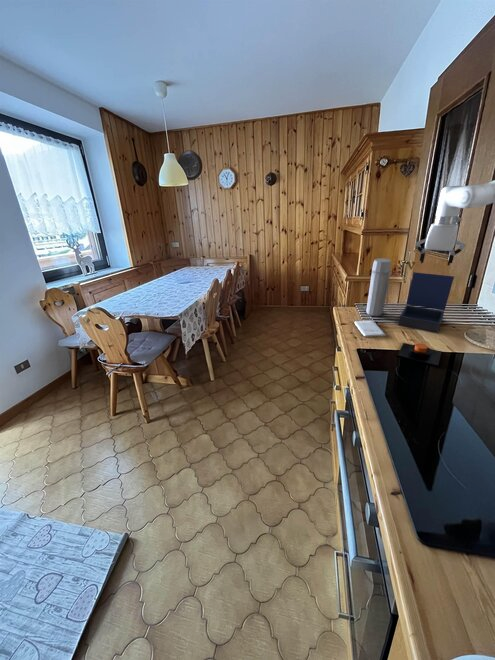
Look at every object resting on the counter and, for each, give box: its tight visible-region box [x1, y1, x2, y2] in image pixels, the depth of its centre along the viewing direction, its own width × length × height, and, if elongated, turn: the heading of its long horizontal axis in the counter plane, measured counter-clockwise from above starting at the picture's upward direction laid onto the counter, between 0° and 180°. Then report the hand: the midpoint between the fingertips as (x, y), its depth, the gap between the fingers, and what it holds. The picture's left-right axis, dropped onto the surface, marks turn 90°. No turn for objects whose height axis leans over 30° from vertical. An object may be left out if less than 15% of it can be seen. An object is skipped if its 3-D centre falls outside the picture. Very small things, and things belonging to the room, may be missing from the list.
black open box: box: [397, 304, 445, 334], centre depth 120 cm, size 14×15×4 cm
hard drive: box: [354, 320, 386, 338], centre depth 117 cm, size 2×8×12 cm
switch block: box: [397, 342, 442, 368], centre depth 98 cm, size 12×10×3 cm
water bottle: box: [365, 258, 393, 317], centre depth 125 cm, size 9×8×25 cm
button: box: [414, 343, 429, 353], centre depth 97 cm, size 4×4×2 cm
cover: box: [406, 271, 455, 311], centre depth 121 cm, size 14×15×1 cm
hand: (434, 263), depth 120 cm, fingers open, 9 cm apart
